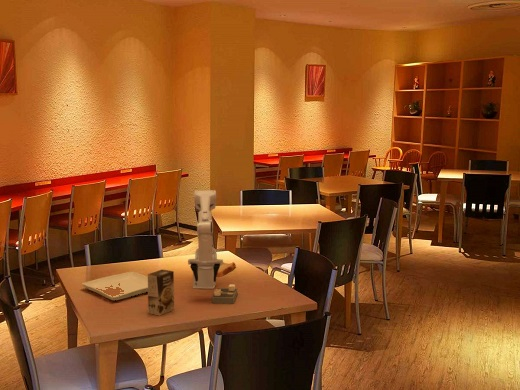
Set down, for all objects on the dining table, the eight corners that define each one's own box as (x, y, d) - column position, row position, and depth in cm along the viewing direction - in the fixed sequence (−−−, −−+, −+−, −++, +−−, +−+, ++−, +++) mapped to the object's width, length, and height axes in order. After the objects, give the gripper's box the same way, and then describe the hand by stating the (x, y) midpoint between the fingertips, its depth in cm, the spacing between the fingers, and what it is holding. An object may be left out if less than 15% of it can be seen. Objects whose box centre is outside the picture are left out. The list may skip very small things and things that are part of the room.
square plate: (80, 290, 266) (80, 282, 265) (132, 278, 285) (132, 270, 285) (112, 305, 247) (112, 296, 247) (166, 290, 266) (166, 282, 266)
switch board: (211, 303, 248) (211, 297, 248) (217, 293, 261) (217, 287, 261) (233, 303, 248) (233, 297, 247) (237, 293, 260) (237, 288, 260)
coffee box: (160, 316, 233) (159, 276, 231) (147, 313, 237) (146, 274, 234) (175, 309, 241) (174, 271, 238) (163, 306, 244) (162, 268, 242)
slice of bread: (213, 278, 284) (213, 271, 284) (198, 269, 300) (198, 262, 299) (246, 273, 293) (246, 266, 292) (230, 264, 308) (230, 257, 308)
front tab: (214, 295, 249) (214, 291, 249) (215, 293, 252) (215, 288, 252) (220, 295, 249) (220, 291, 249) (221, 293, 252) (221, 289, 252)
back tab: (228, 290, 256) (228, 286, 255) (229, 288, 259) (229, 284, 258) (234, 291, 256) (234, 286, 255) (235, 288, 258) (235, 284, 258)
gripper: (186, 251, 245) (187, 283, 247) (221, 252, 244) (221, 284, 246) (189, 247, 252) (190, 278, 254) (223, 248, 251) (223, 279, 253)
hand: (205, 281), depth 250 cm, fingers open, 7 cm apart
